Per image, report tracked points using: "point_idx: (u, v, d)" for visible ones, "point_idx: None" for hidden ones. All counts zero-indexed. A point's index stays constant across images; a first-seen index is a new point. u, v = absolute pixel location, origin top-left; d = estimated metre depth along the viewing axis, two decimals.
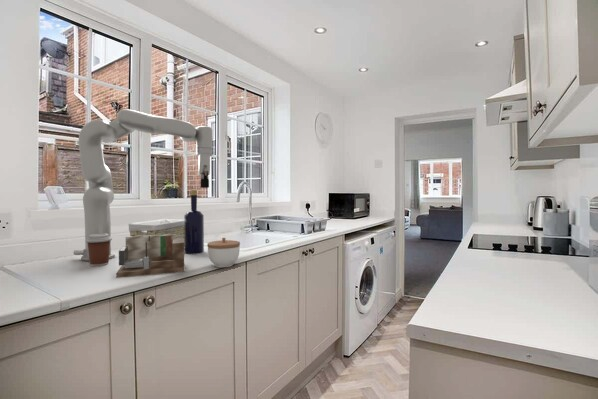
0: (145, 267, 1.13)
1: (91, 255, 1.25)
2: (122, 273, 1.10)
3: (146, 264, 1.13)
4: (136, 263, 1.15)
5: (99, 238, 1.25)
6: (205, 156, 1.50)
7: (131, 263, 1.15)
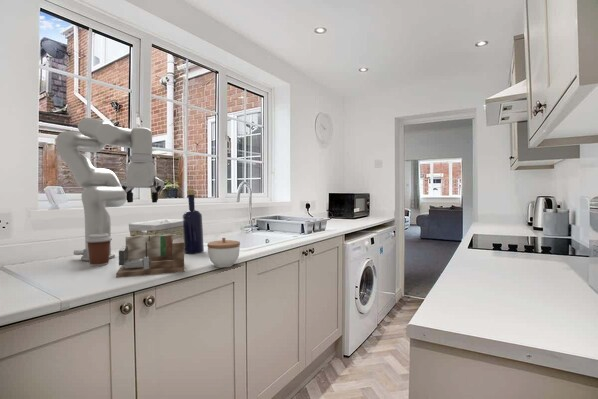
0: (145, 267, 1.13)
1: (91, 255, 1.25)
2: (122, 273, 1.10)
3: (146, 264, 1.13)
4: (136, 263, 1.15)
5: (99, 238, 1.25)
6: (153, 165, 1.27)
7: (131, 263, 1.15)
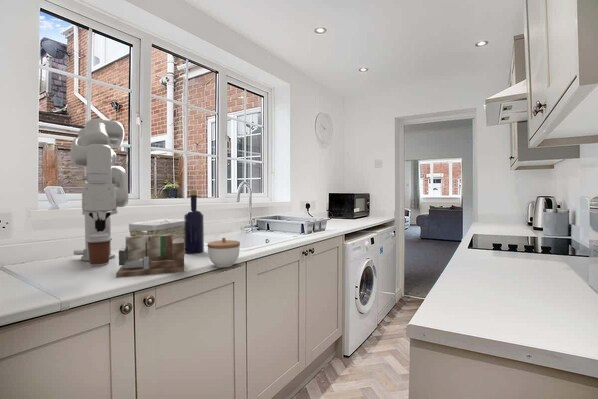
0: (145, 267, 1.13)
1: (91, 255, 1.25)
2: (122, 273, 1.10)
3: (146, 264, 1.13)
4: (136, 263, 1.15)
5: (99, 238, 1.25)
6: (114, 186, 1.15)
7: (131, 263, 1.15)
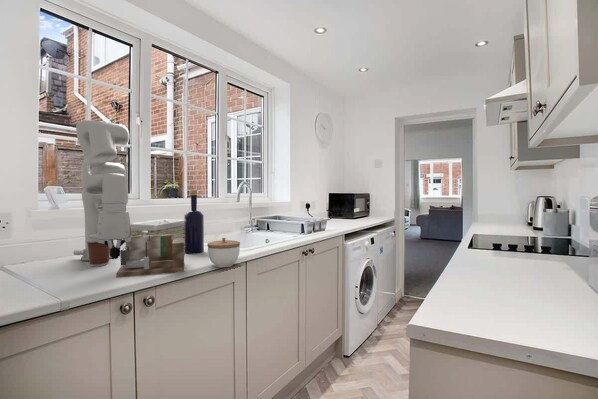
0: (145, 267, 1.13)
1: (91, 255, 1.25)
2: (122, 273, 1.10)
3: (146, 264, 1.13)
4: (138, 263, 1.15)
5: None
6: (128, 214, 1.17)
7: (133, 263, 1.15)
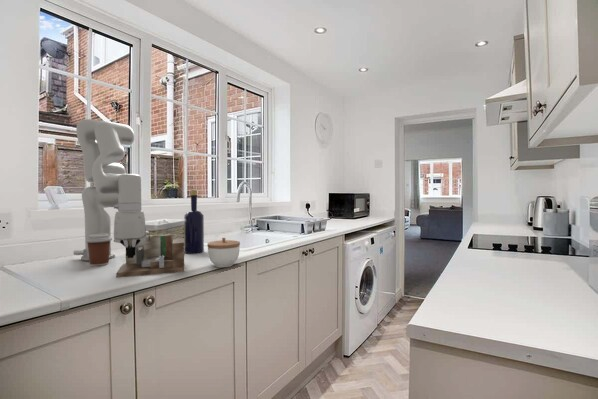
0: (160, 266, 1.15)
1: (91, 255, 1.25)
2: (122, 273, 1.10)
3: (161, 263, 1.15)
4: None
5: (99, 238, 1.25)
6: (143, 213, 1.19)
7: (148, 262, 1.17)
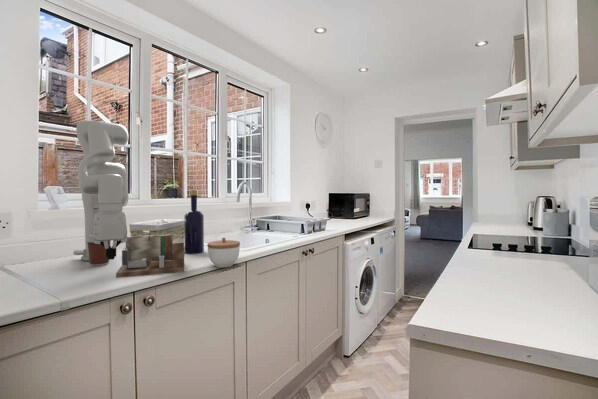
0: (160, 266, 1.15)
1: (91, 255, 1.25)
2: (122, 273, 1.10)
3: (161, 263, 1.15)
4: (139, 263, 1.15)
5: None
6: None
7: (134, 263, 1.15)
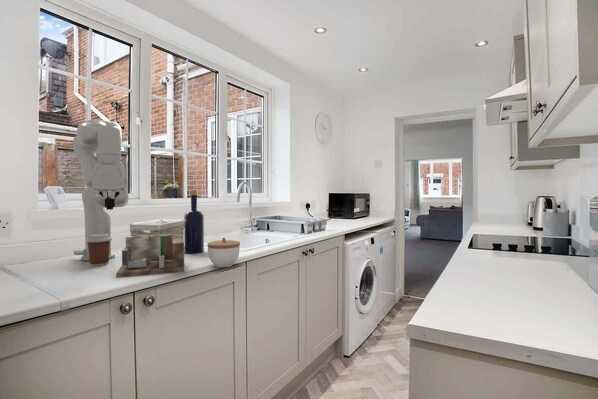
0: (160, 266, 1.15)
1: (91, 255, 1.25)
2: (122, 273, 1.10)
3: (161, 263, 1.15)
4: (139, 263, 1.15)
5: (99, 238, 1.25)
6: (123, 166, 1.19)
7: (134, 263, 1.15)
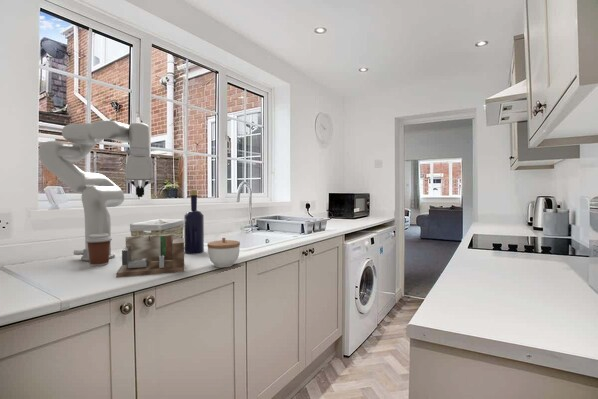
0: (160, 266, 1.15)
1: (91, 255, 1.25)
2: (122, 273, 1.10)
3: (161, 263, 1.15)
4: (139, 263, 1.15)
5: (99, 238, 1.25)
6: (151, 159, 1.35)
7: (134, 263, 1.15)
